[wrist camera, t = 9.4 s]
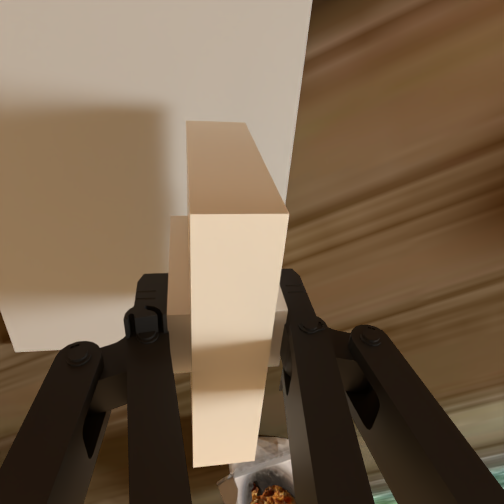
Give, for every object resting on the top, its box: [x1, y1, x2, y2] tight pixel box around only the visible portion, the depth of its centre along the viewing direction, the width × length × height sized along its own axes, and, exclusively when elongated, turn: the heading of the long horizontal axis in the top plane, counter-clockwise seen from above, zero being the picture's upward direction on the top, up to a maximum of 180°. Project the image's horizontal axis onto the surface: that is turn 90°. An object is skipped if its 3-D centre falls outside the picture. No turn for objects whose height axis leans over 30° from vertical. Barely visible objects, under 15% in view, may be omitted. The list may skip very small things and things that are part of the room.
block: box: [186, 121, 289, 468], centre depth 16 cm, size 11×2×8 cm, turn 176°
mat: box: [0, 0, 312, 352], centre depth 21 cm, size 20×16×1 cm
